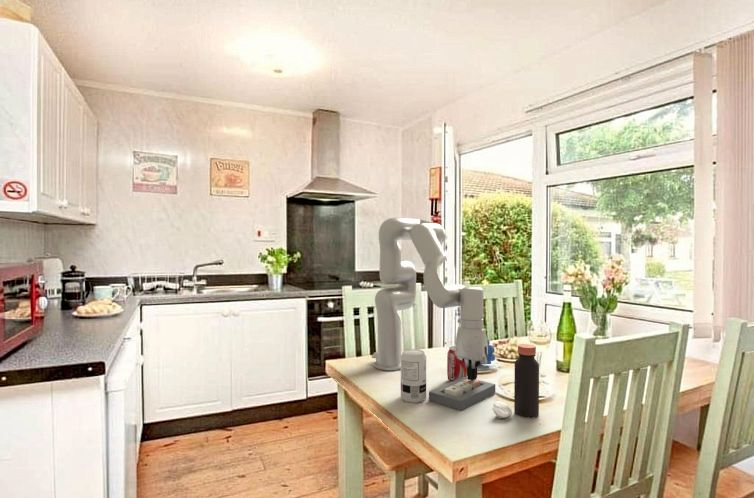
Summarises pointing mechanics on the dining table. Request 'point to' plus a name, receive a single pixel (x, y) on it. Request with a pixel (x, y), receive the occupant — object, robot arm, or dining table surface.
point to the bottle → (526, 382)
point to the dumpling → (501, 409)
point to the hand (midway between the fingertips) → (472, 379)
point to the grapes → (490, 353)
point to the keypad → (463, 400)
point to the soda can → (455, 366)
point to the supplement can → (413, 376)
